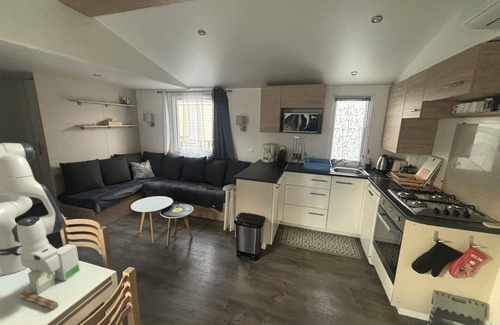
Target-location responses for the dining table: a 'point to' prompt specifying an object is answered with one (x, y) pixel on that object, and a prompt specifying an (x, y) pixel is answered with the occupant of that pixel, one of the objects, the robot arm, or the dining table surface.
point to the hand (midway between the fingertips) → (43, 275)
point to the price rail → (39, 300)
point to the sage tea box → (40, 281)
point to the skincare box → (67, 262)
